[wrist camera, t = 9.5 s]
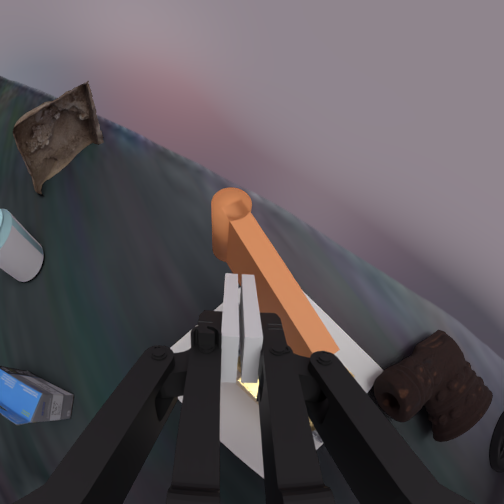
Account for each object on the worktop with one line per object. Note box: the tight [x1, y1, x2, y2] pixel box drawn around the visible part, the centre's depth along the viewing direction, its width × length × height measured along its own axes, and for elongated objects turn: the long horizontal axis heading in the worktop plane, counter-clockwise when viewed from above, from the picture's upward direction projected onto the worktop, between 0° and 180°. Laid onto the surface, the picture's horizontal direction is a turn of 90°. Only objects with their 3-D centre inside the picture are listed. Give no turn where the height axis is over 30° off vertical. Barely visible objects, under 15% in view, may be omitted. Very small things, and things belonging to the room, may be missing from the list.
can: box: [0, 209, 44, 282], centre depth 31 cm, size 7×7×12 cm
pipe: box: [374, 330, 493, 442], centre depth 30 cm, size 10×15×15 cm
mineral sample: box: [13, 81, 104, 194], centre depth 38 cm, size 17×4×15 cm, turn 143°
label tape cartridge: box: [0, 366, 74, 425], centre depth 23 cm, size 9×4×12 cm, turn 80°
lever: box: [211, 188, 340, 358], centre depth 21 cm, size 17×4×7 cm, turn 30°
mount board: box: [170, 287, 384, 478], centre depth 34 cm, size 22×21×1 cm
